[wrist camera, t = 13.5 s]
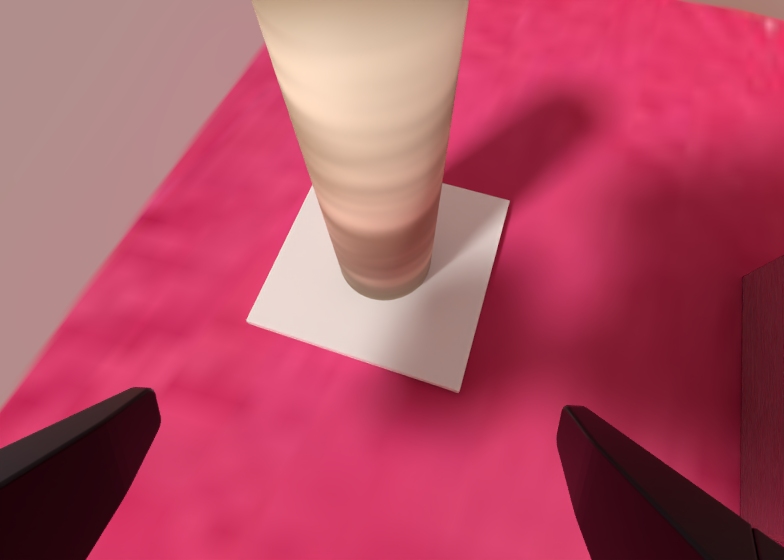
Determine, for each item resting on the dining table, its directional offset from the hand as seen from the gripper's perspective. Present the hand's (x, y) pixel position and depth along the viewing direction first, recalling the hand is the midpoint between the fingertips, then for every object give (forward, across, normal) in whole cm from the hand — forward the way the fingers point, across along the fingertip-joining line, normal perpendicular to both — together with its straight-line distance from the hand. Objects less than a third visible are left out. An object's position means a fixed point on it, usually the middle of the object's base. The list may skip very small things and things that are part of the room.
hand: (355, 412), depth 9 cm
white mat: (+12, 0, +1) cm, 12 cm away
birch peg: (+12, 0, 0) cm, 12 cm away
